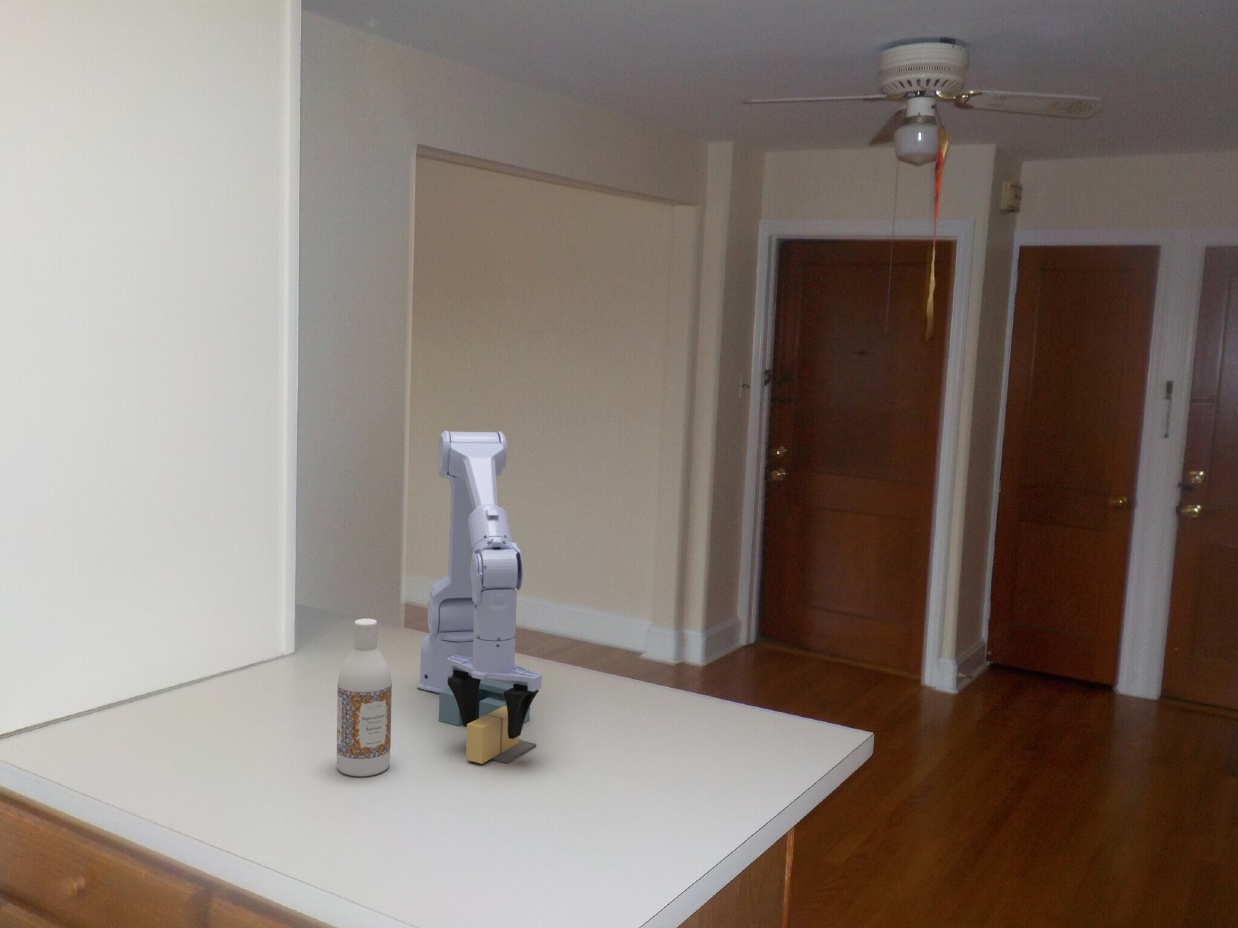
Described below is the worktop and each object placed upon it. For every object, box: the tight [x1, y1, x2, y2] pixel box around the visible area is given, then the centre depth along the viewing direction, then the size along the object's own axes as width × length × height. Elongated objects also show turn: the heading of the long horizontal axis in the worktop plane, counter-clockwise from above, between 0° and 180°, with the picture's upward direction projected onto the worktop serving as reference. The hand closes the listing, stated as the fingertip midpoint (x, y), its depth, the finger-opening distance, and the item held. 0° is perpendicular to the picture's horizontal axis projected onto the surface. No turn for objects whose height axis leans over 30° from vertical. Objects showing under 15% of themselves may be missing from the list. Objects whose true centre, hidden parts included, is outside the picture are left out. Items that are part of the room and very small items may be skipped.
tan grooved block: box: [465, 706, 520, 764], centre depth 151 cm, size 3×9×5 cm, turn 152°
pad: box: [490, 739, 537, 764], centre depth 153 cm, size 6×7×1 cm
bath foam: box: [336, 618, 393, 777], centre depth 144 cm, size 7×7×20 cm
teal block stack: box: [438, 674, 531, 727], centre depth 164 cm, size 11×8×6 cm
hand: (491, 730), depth 151 cm, fingers open, 7 cm apart
